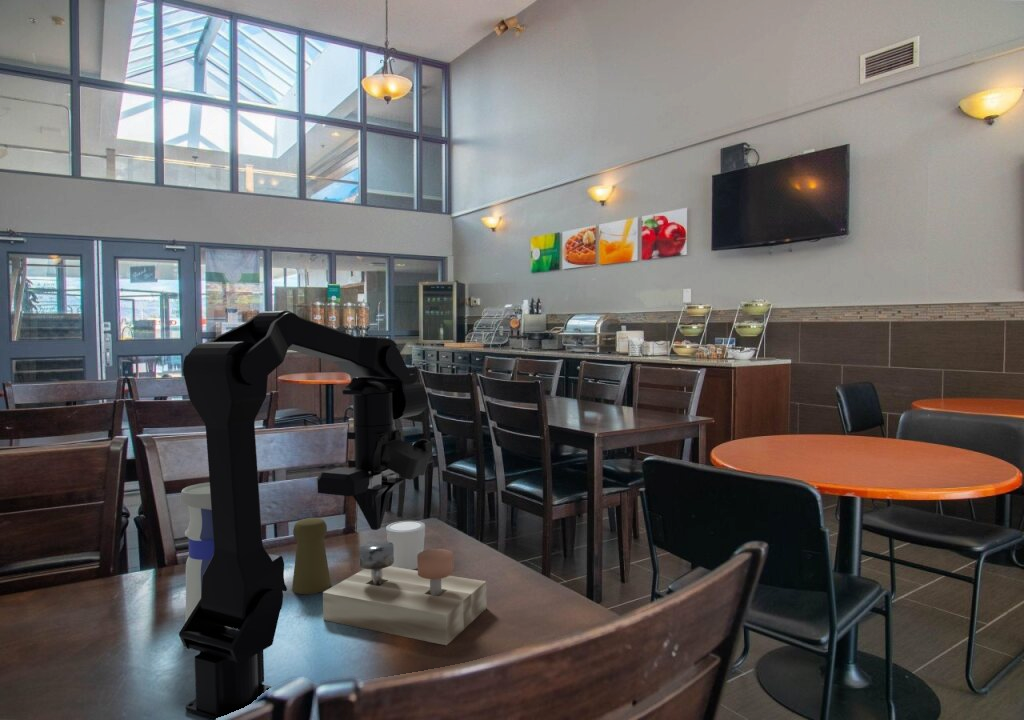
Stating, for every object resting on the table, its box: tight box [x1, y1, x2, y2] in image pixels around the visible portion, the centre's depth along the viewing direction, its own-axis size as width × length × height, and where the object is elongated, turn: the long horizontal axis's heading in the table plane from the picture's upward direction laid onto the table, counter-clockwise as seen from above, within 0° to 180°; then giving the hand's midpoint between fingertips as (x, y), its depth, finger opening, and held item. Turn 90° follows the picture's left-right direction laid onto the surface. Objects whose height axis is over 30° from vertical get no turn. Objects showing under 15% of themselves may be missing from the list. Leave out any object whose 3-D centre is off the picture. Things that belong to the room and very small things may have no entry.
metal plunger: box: [358, 540, 394, 586], centre depth 92 cm, size 5×5×6 cm
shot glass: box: [385, 520, 426, 570], centre depth 110 cm, size 7×7×7 cm
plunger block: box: [322, 566, 488, 646], centre depth 90 cm, size 12×20×4 cm, turn 67°
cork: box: [291, 517, 332, 595], centre depth 101 cm, size 6×6×11 cm
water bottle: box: [179, 481, 234, 629], centre depth 88 cm, size 8×9×25 cm
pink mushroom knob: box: [417, 548, 454, 596], centre depth 88 cm, size 5×5×6 cm
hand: (375, 529), depth 92 cm, fingers closed
